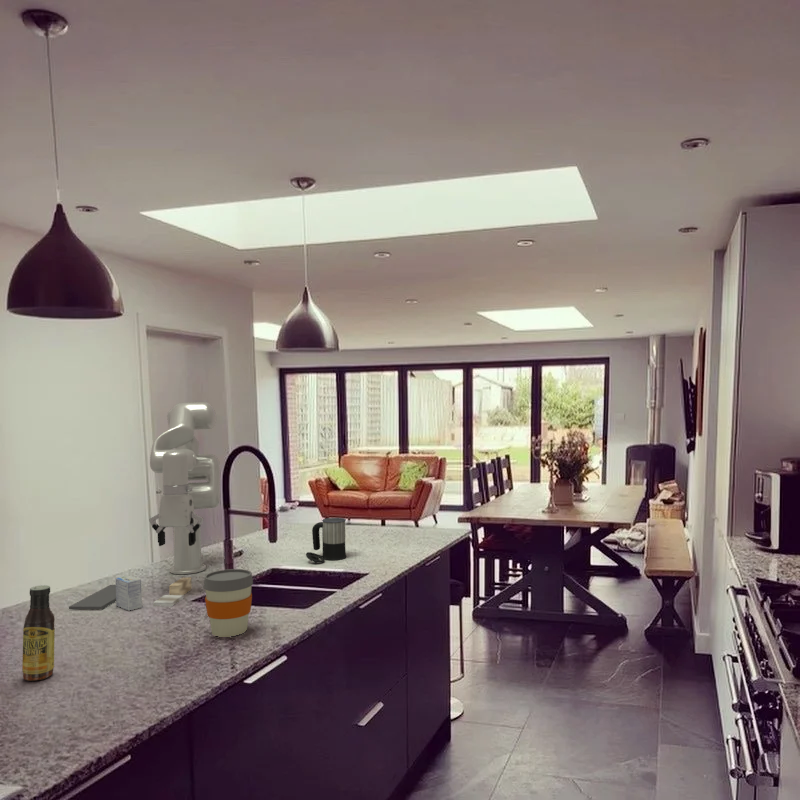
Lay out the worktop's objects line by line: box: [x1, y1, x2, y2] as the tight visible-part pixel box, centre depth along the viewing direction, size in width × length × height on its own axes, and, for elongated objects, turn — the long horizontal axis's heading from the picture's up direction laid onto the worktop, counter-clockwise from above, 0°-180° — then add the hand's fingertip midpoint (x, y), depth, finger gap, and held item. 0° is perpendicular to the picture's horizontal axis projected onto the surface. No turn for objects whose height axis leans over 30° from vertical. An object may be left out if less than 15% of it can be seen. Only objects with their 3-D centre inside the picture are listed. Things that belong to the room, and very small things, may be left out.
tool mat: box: [68, 584, 116, 610], centre depth 211 cm, size 24×10×1 cm, turn 175°
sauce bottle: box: [21, 584, 56, 682], centre depth 150 cm, size 6×6×20 cm
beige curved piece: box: [152, 576, 192, 607], centre depth 210 cm, size 18×6×4 cm, turn 175°
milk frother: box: [305, 517, 347, 564], centre depth 257 cm, size 14×16×15 cm
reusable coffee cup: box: [203, 568, 254, 638], centre depth 177 cm, size 13×13×15 cm
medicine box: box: [115, 575, 143, 612], centre depth 201 cm, size 8×4×9 cm, turn 48°
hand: (176, 545), depth 212 cm, fingers open, 9 cm apart
